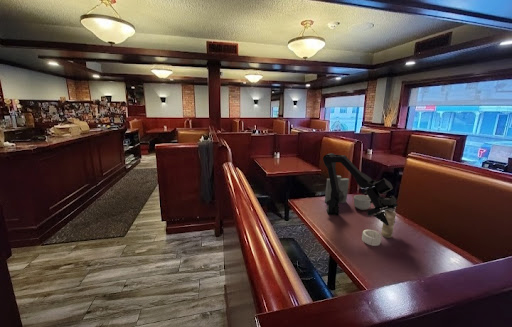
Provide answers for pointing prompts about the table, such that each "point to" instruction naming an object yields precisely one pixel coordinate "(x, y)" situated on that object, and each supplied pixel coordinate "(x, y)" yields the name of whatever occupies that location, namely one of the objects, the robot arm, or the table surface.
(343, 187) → the hip flask
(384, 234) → the pepper mill
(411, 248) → the table surface
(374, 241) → the socket
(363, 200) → the teacup
